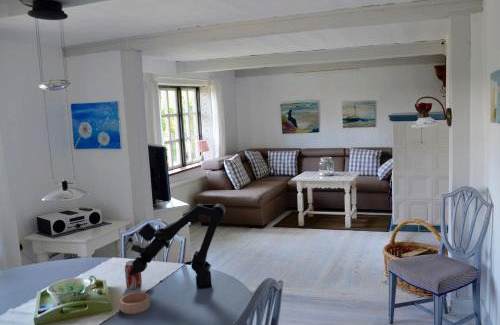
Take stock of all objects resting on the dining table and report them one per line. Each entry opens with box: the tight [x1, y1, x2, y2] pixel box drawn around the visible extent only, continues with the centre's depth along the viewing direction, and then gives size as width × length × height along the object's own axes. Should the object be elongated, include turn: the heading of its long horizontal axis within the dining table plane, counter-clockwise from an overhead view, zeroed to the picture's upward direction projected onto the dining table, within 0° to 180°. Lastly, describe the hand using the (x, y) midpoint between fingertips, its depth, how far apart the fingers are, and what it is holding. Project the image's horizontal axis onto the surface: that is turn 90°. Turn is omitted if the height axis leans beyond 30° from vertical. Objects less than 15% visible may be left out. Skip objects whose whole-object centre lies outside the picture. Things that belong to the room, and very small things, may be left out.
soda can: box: [124, 259, 143, 290], centre depth 217 cm, size 7×7×12 cm
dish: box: [119, 291, 151, 315], centre depth 197 cm, size 12×12×4 cm
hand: (132, 271), depth 217 cm, fingers open, 9 cm apart
